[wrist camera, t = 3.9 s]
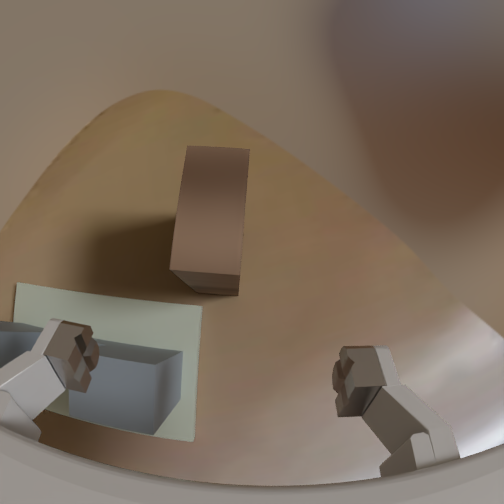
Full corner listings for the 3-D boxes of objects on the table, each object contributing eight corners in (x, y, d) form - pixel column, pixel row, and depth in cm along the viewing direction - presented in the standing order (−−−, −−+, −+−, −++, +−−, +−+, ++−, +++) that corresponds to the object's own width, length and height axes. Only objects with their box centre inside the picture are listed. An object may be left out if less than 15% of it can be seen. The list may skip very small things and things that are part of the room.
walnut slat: (238, 295, 23) (240, 275, 14) (196, 292, 23) (169, 269, 14) (244, 216, 25) (249, 149, 15) (204, 213, 25) (187, 145, 15)
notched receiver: (194, 437, 21) (174, 493, 12) (18, 395, 20) (-50, 412, 11) (202, 306, 23) (182, 296, 14) (23, 283, 22) (-47, 263, 14)
